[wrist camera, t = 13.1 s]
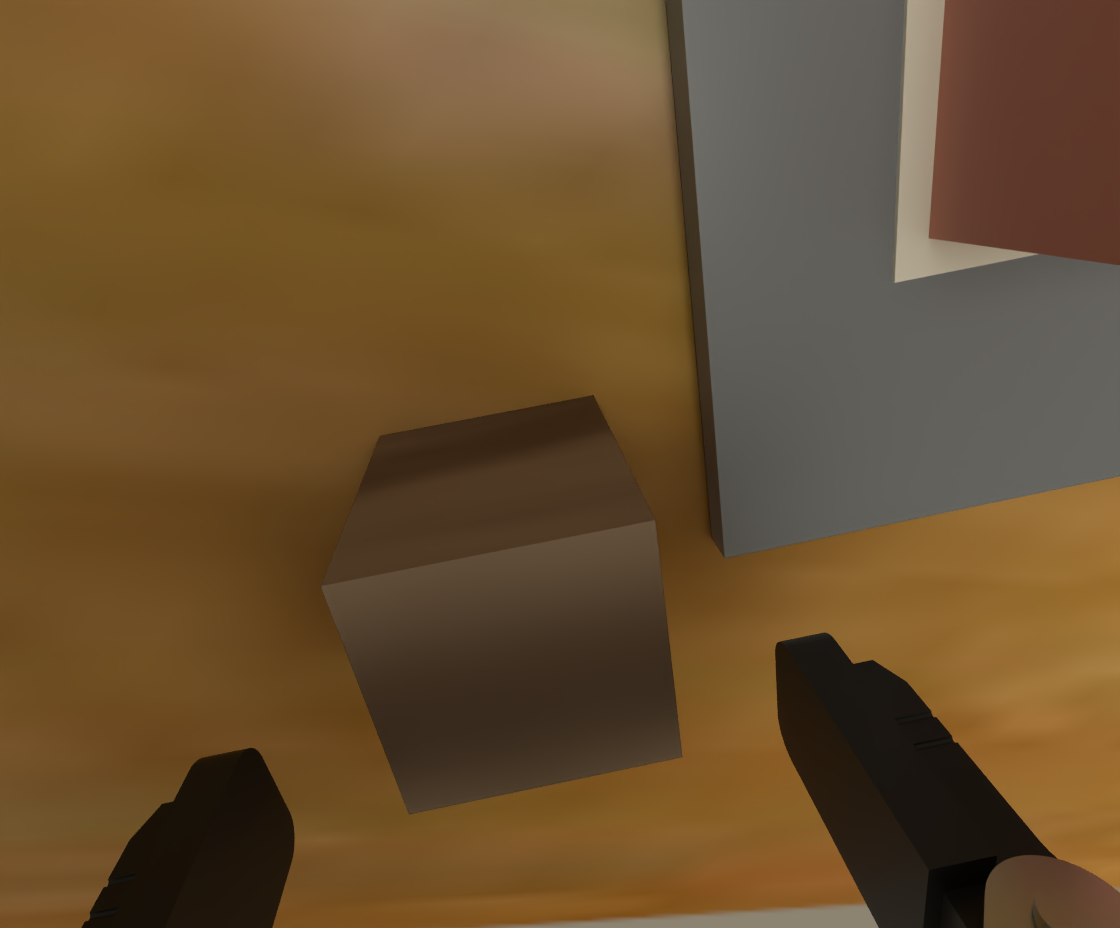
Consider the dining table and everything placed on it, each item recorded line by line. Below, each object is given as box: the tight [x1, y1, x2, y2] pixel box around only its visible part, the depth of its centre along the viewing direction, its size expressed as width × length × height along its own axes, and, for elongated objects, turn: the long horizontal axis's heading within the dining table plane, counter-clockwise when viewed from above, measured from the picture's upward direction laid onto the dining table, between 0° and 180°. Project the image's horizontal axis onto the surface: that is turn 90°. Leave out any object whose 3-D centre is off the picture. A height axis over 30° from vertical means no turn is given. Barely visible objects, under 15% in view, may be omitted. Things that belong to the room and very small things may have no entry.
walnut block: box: [321, 396, 682, 814], centre depth 13 cm, size 5×5×6 cm
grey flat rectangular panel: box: [666, 0, 1120, 558], centre depth 13 cm, size 19×15×1 cm
